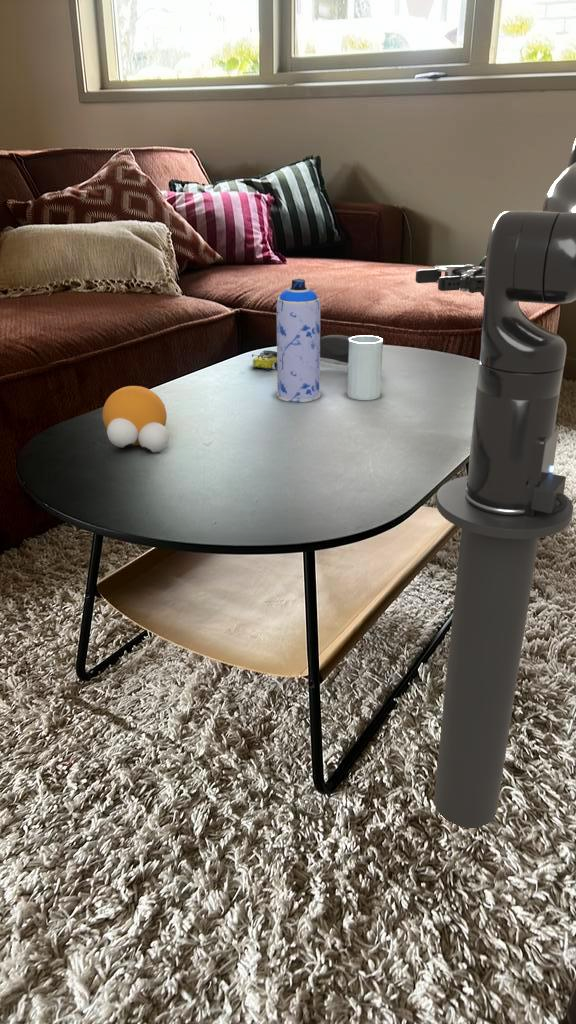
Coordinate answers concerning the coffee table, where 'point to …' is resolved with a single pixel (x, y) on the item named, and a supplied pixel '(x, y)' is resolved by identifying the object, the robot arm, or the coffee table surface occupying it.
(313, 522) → the coffee table surface
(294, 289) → the aerosol can
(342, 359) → the figurine
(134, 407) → the toy
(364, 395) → the plastic cup
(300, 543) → the coffee table surface
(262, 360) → the toy car
